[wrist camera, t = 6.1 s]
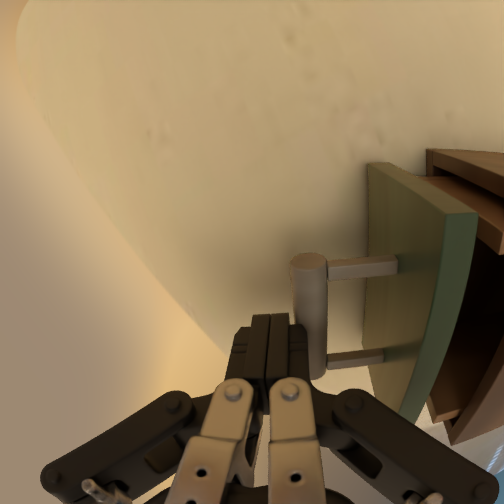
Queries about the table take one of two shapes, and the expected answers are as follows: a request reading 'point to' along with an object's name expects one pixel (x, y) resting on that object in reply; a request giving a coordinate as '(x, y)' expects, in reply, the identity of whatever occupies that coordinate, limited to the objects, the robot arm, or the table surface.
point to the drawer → (416, 292)
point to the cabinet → (500, 369)
